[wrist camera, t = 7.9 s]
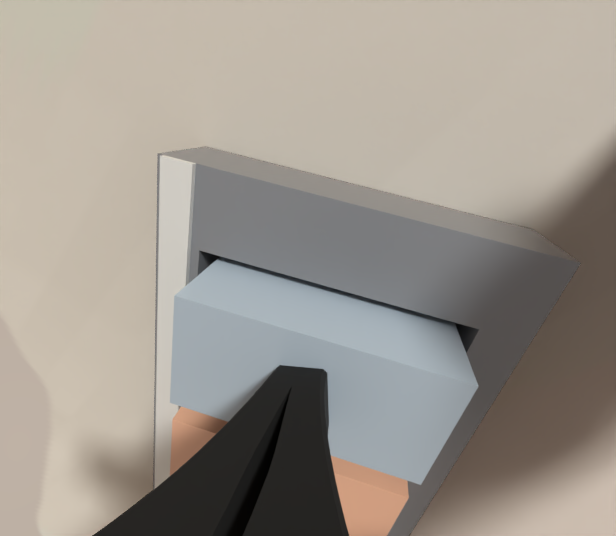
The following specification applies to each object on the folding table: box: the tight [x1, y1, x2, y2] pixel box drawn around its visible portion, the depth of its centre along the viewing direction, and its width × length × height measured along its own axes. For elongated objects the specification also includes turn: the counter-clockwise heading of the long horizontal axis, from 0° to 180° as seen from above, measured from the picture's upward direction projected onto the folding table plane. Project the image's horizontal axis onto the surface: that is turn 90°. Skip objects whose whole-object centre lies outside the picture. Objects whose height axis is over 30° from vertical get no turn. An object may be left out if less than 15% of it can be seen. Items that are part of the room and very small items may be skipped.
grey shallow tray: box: [153, 147, 581, 536], centre depth 15 cm, size 12×20×3 cm, turn 167°
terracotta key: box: [170, 407, 409, 536], centre depth 13 cm, size 8×4×4 cm, turn 77°
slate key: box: [170, 256, 478, 485], centre depth 11 cm, size 8×4×4 cm, turn 77°
